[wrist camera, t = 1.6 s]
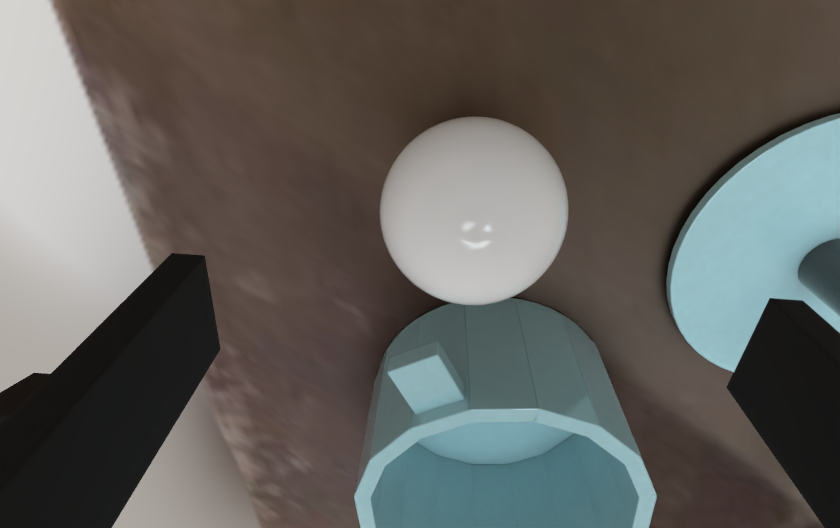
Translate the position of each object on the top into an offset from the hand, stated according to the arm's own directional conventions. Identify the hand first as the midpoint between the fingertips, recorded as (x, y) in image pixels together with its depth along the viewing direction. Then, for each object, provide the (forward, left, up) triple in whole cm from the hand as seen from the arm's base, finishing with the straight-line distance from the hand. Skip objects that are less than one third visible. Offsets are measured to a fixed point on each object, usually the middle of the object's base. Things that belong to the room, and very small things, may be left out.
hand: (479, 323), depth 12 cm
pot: (+5, +15, -14) cm, 21 cm away
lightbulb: (0, 0, -14) cm, 14 cm away
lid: (-14, +13, -13) cm, 23 cm away
